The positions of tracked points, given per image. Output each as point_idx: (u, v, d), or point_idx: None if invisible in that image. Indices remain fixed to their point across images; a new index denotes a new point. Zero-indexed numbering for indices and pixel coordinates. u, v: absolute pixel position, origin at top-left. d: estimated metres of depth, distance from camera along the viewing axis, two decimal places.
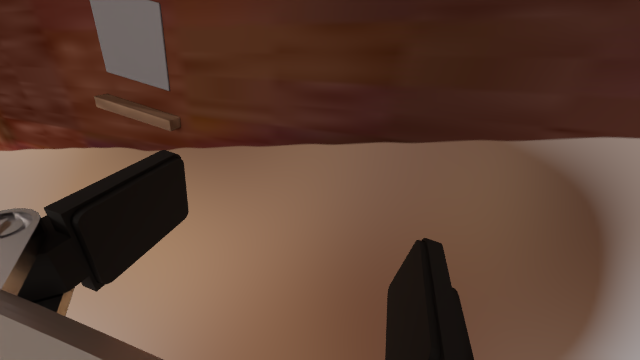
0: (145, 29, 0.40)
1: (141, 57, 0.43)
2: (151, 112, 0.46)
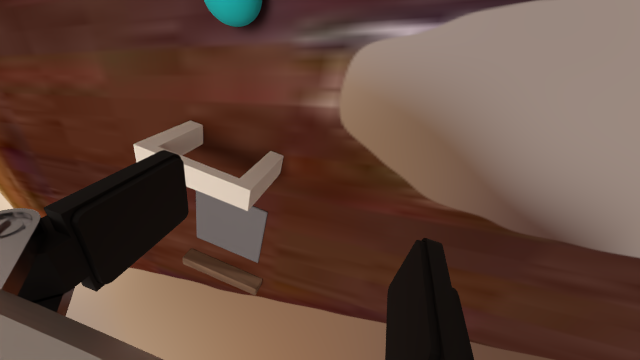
0: (247, 223, 0.43)
1: (236, 238, 0.46)
2: (237, 276, 0.49)
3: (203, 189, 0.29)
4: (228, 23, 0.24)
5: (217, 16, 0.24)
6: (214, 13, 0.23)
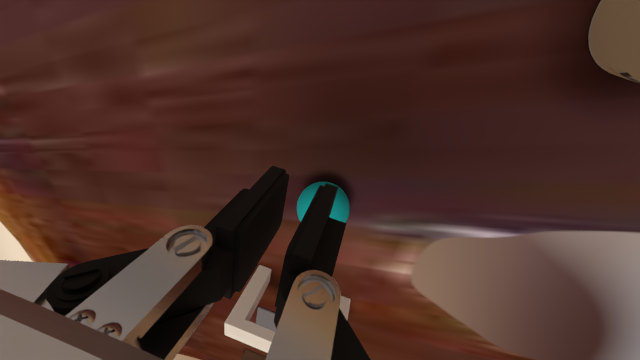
0: None
1: None
2: None
3: None
4: None
5: None
6: None
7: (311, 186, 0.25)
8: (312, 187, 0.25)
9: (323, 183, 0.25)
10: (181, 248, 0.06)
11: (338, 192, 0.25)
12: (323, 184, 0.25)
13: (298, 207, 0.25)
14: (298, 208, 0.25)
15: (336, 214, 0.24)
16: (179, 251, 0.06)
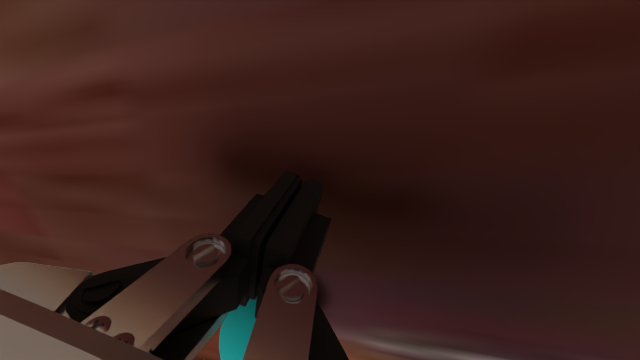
0: None
1: None
2: None
3: None
4: None
5: None
6: None
7: None
8: None
9: None
10: (199, 257, 0.06)
11: None
12: None
13: (219, 342, 0.13)
14: (219, 344, 0.13)
15: None
16: (197, 260, 0.06)
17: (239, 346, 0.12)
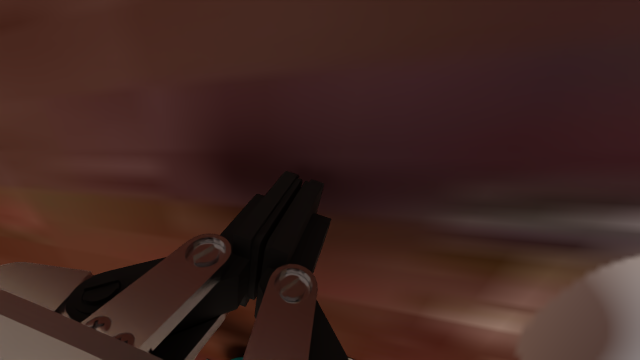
0: None
1: None
2: None
3: None
4: None
5: None
6: None
7: None
8: None
9: None
10: (199, 257, 0.06)
11: None
12: None
13: None
14: None
15: None
16: (197, 260, 0.06)
17: None
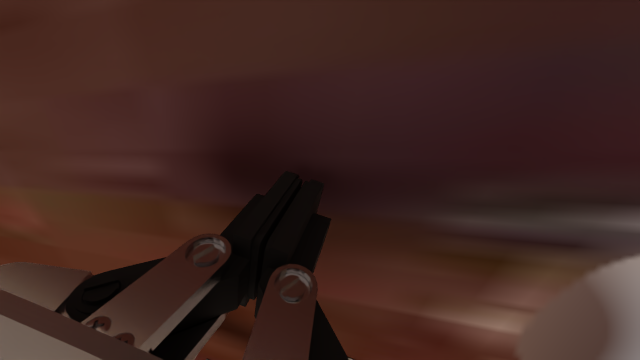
0: None
1: None
2: None
3: None
4: None
5: None
6: None
7: None
8: None
9: None
10: (199, 257, 0.06)
11: None
12: None
13: None
14: None
15: None
16: (197, 260, 0.06)
17: None
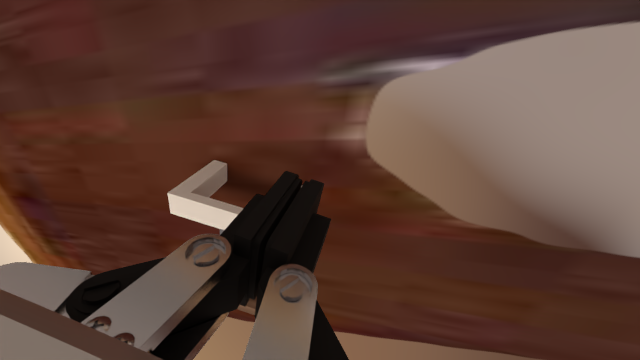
0: None
1: None
2: None
3: None
4: None
5: None
6: None
7: None
8: None
9: None
10: (199, 257, 0.06)
11: None
12: None
13: None
14: None
15: None
16: (197, 260, 0.06)
17: None
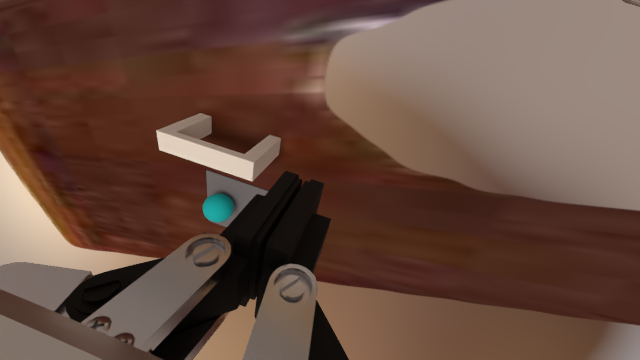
0: None
1: None
2: None
3: (215, 165, 0.34)
4: (213, 220, 0.46)
5: (208, 216, 0.46)
6: (207, 215, 0.46)
7: None
8: None
9: None
10: (199, 257, 0.06)
11: None
12: None
13: None
14: (204, 202, 0.47)
15: (225, 202, 0.46)
16: (197, 260, 0.06)
17: (214, 195, 0.47)
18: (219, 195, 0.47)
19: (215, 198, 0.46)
